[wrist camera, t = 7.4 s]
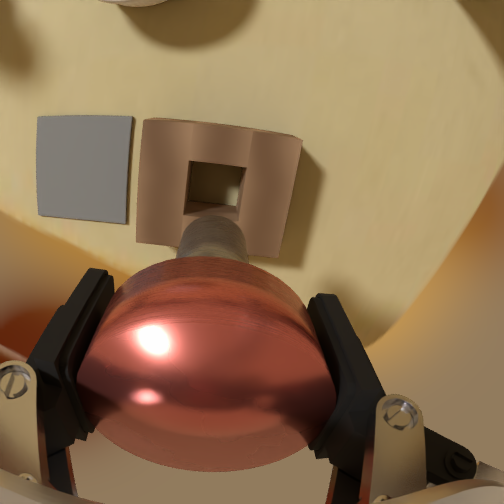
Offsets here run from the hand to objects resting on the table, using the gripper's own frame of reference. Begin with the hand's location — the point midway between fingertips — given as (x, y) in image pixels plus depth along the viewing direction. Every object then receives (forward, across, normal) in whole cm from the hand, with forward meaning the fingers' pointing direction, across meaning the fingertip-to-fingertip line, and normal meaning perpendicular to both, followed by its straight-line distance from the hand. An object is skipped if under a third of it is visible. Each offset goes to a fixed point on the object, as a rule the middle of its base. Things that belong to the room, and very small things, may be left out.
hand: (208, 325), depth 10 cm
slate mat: (+20, +13, 0) cm, 24 cm away
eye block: (+20, 0, 0) cm, 20 cm away
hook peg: (+6, 0, 0) cm, 6 cm away
